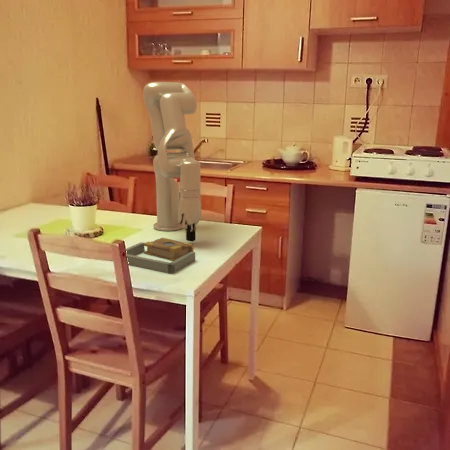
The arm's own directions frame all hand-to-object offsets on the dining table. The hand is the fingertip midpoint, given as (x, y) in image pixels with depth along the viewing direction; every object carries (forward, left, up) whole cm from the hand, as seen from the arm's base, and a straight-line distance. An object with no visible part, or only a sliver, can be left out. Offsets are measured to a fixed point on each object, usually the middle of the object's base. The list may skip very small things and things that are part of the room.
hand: (190, 240), depth 186 cm
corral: (+22, 0, -1) cm, 22 cm away
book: (+14, -1, -2) cm, 14 cm away
